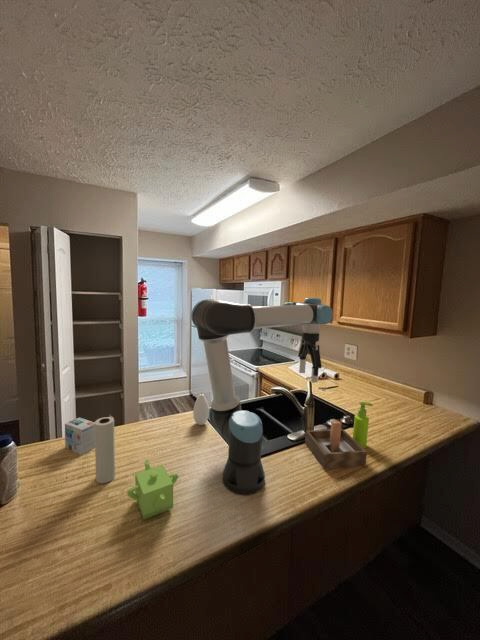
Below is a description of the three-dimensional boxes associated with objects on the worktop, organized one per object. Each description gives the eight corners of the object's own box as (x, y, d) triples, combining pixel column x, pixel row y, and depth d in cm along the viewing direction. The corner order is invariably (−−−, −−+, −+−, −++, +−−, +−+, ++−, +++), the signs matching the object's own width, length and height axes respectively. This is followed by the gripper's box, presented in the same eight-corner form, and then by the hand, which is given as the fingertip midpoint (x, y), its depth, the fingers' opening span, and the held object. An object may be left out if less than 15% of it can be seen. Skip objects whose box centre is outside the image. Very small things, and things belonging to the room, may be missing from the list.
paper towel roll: (102, 486, 92) (101, 426, 89) (92, 479, 95) (90, 421, 92) (121, 474, 98) (120, 417, 96) (110, 468, 101) (109, 413, 99)
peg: (331, 456, 113) (334, 425, 112) (327, 451, 117) (329, 420, 116) (340, 456, 114) (343, 424, 113) (335, 450, 118) (338, 420, 116)
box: (323, 469, 105) (324, 454, 105) (304, 443, 123) (305, 430, 122) (365, 465, 108) (367, 451, 108) (341, 440, 126) (342, 428, 125)
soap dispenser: (370, 449, 120) (374, 406, 118) (353, 447, 121) (357, 404, 119) (366, 442, 126) (370, 401, 123) (351, 440, 127) (354, 399, 125)
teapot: (145, 485, 93) (145, 456, 92) (182, 490, 91) (183, 461, 90) (119, 522, 78) (119, 488, 77) (163, 530, 76) (164, 495, 75)
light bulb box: (64, 448, 112) (63, 423, 111) (80, 440, 118) (79, 416, 117) (81, 455, 108) (80, 429, 107) (96, 447, 114) (96, 422, 113)
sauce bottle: (210, 421, 140) (211, 387, 138) (206, 428, 132) (207, 393, 130) (196, 419, 141) (196, 386, 139) (190, 426, 133) (191, 391, 131)
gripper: (332, 336, 112) (328, 386, 114) (307, 328, 136) (304, 369, 139) (315, 336, 111) (311, 387, 113) (293, 327, 135) (290, 369, 138)
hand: (307, 377), depth 126 cm, fingers open, 13 cm apart
